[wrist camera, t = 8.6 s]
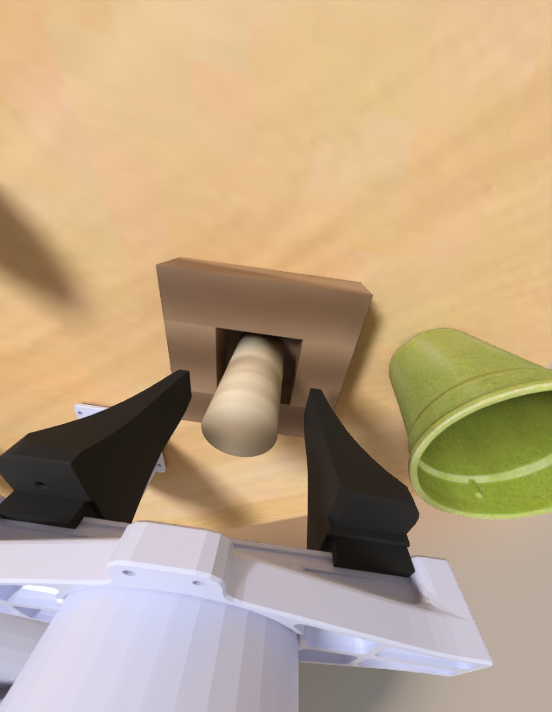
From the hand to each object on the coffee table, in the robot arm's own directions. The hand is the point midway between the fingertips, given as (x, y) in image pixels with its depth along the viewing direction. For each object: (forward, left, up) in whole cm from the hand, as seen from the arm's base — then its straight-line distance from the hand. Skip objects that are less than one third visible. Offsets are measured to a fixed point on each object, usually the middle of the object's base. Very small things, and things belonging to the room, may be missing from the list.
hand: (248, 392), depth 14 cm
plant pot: (+1, -13, -6) cm, 14 cm away
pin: (0, 0, -5) cm, 5 cm away
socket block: (0, 0, -5) cm, 5 cm away
